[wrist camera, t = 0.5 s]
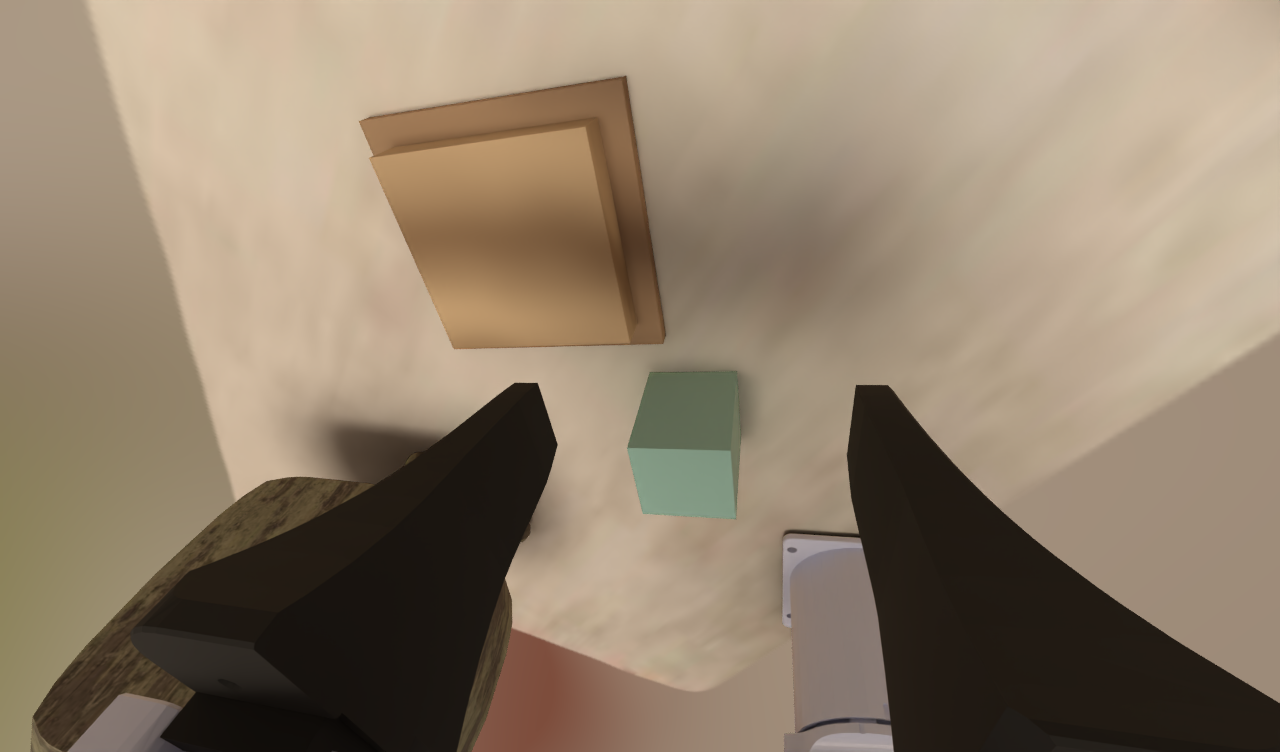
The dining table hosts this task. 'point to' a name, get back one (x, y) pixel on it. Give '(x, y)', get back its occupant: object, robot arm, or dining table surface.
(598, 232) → the top slab
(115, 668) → the tabletop clock
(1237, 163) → the dining table surface
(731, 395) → the block
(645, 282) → the bottom slab
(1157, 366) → the dining table surface
